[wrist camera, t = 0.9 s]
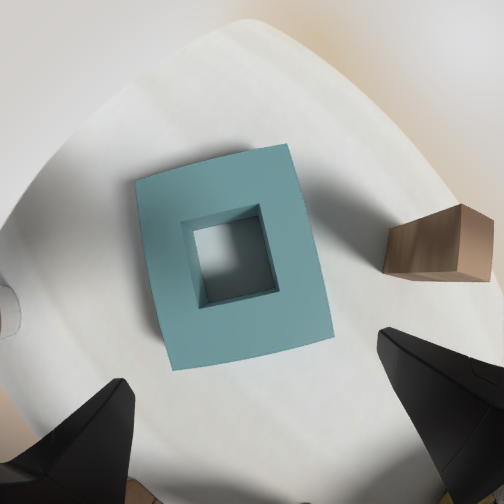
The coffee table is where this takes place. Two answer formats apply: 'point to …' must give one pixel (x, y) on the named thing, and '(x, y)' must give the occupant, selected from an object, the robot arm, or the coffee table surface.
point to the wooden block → (138, 494)
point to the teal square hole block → (188, 267)
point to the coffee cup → (9, 312)
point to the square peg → (442, 247)
